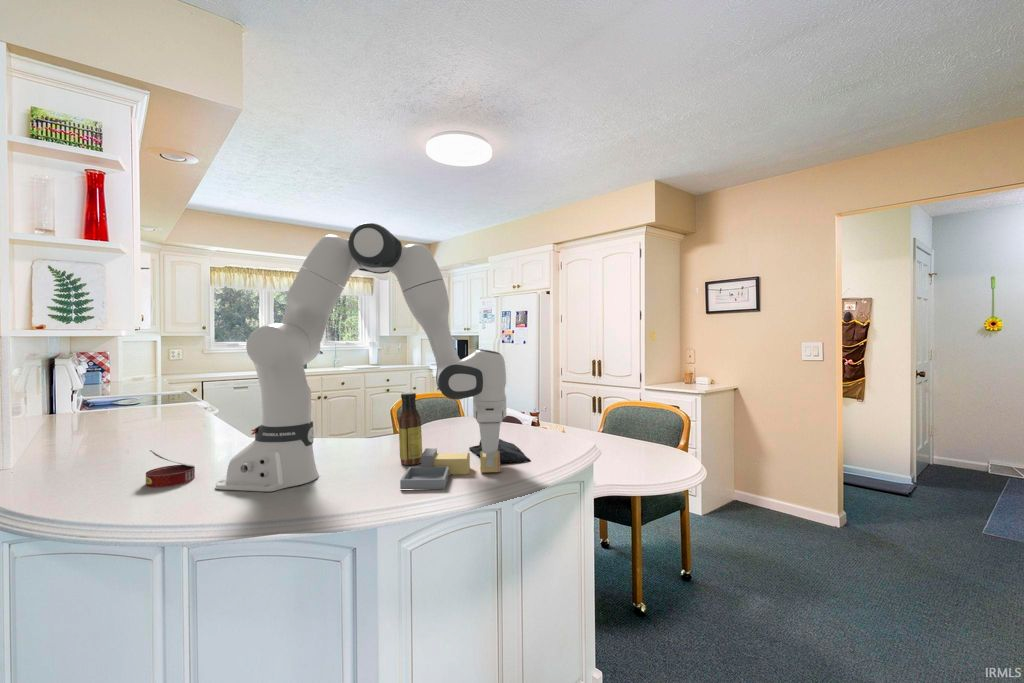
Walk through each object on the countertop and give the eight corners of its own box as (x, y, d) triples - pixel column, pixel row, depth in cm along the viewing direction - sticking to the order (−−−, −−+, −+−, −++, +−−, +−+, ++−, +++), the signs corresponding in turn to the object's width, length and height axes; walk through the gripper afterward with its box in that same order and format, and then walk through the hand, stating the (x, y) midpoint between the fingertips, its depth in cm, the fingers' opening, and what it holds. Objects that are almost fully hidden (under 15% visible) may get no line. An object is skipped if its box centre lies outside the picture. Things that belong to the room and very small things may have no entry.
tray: (400, 490, 105) (400, 480, 105) (409, 476, 117) (409, 466, 117) (444, 489, 106) (444, 479, 106) (449, 475, 117) (449, 466, 117)
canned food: (155, 498, 115) (160, 459, 120) (201, 490, 118) (203, 452, 122) (131, 489, 106) (137, 447, 110) (181, 481, 108) (184, 440, 112)
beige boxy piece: (421, 476, 117) (421, 455, 117) (425, 467, 125) (425, 448, 125) (468, 475, 117) (468, 455, 117) (470, 466, 125) (469, 447, 125)
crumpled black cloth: (481, 468, 126) (481, 450, 126) (467, 449, 147) (467, 435, 147) (534, 463, 130) (534, 447, 130) (513, 446, 151) (513, 432, 151)
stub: (480, 472, 118) (480, 456, 118) (481, 466, 124) (480, 450, 124) (500, 472, 119) (499, 456, 119) (499, 465, 125) (499, 450, 125)
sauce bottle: (425, 460, 132) (424, 391, 132) (418, 466, 126) (418, 394, 126) (403, 460, 133) (402, 391, 133) (395, 465, 127) (395, 394, 127)
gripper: (479, 405, 132) (479, 453, 132) (476, 416, 111) (477, 473, 111) (500, 404, 132) (501, 452, 132) (502, 416, 111) (503, 473, 111)
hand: (490, 462), depth 121 cm, fingers closed on stub, 6 cm apart
